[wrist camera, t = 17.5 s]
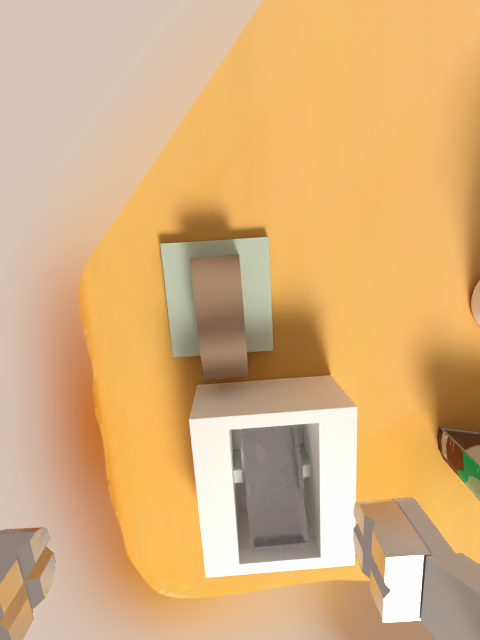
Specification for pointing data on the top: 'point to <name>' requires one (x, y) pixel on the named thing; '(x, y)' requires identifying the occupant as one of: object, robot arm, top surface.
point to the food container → (462, 455)
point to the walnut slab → (220, 316)
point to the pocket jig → (316, 458)
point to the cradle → (274, 488)
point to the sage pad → (253, 291)
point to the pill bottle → (476, 303)
